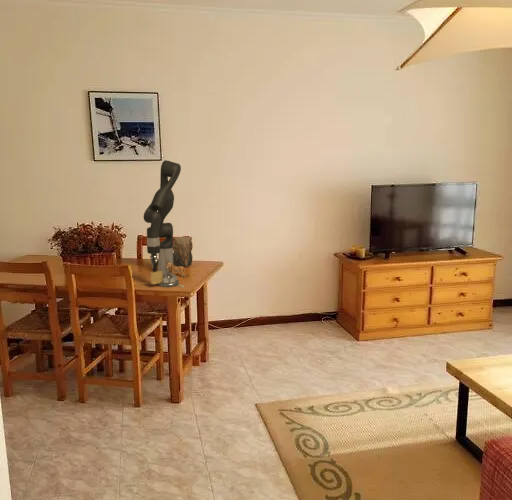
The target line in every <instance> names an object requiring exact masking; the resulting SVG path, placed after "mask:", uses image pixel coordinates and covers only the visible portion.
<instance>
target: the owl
mask: <svg viewBox="0 0 512 500" xmlns="http://www.w3.org/2000/svg"><path fill="white" fill-rule="evenodd" d="M192 240H193V239H192V236H185V235H184V236H179V237H178V236H177V237H176V236H175V237H174V236H173V264H174V265H175V266H176V267H180V266H182V267H184V269H187V268H189V267H190V266H192V263H193V254H192V250H193V241H192Z"/></svg>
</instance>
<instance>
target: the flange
mask: <svg viewBox="0 0 512 500" xmlns="http://www.w3.org/2000/svg"><path fill="white" fill-rule="evenodd" d="M166 276H168V278H170V274H167V275H166ZM157 284H158V286H159V287H160V288H174V287H175V288H176V287H178V286H179V284H180V283H179V279H177V281H176V282H173V283H157Z"/></svg>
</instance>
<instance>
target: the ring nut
mask: <svg viewBox="0 0 512 500" xmlns="http://www.w3.org/2000/svg"><path fill="white" fill-rule="evenodd" d="M169 274H170V278H168V276H166V275H165V274H162V271H161V270H160V271H158V270H157V271H154V272H153V271H150V284H151V285H156V284H158V283H173V282H176V281H177V280H178V276H177V274H174V275H172V273H169Z"/></svg>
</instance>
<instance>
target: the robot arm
mask: <svg viewBox="0 0 512 500" xmlns="http://www.w3.org/2000/svg"><path fill="white" fill-rule="evenodd" d="M181 170H182V167H181V164H180V163H177V162H173V161H170V160H163V161H162V162H161V165H160V181H159V182H160V184H159V185H160V186H159V189H157V191H156V192H155V194H154V195H153V197H152V200H151V203H150V204H149V205H148V207H147V208H146V209H145V211H144V214H143V220H144V222H145V223H148V224H150V226H149V227H147V228H146V251H147V253H148V254H150V257H149V258H150V264H151V265H150V266H151V268H152V272H154V271H160V270H161V271H162V274H165V275H167V274H169V273H172V272H169V271H168V270H167V269H166V264H167V263H172V264H173V252H174V251H173V242H174V226H173V224H172V223H171V222H165V219H166V217H167V216H168V215H169V213H171V211H172V209H173V208H174V203H175V194H174V192H173V188H174V185H175V184H176V182H177V180H178V179H179V176H180V174H181ZM161 238H165V239H163V240H162V241H160V239H161Z"/></svg>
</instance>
